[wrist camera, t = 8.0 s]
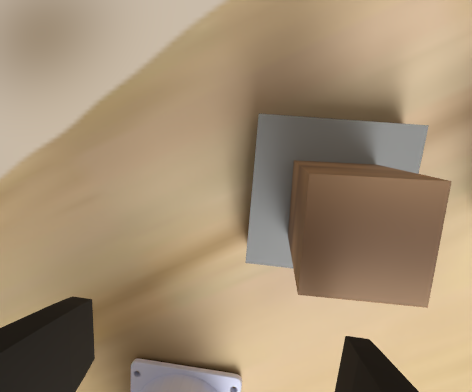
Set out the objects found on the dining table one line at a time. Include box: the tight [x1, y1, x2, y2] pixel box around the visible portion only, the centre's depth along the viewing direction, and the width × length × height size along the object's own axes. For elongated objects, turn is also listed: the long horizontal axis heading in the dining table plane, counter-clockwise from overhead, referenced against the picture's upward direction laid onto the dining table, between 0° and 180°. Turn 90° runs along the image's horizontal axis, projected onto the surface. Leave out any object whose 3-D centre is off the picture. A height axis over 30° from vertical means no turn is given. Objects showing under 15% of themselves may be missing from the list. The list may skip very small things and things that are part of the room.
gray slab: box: [246, 114, 428, 268], centre depth 16 cm, size 8×8×3 cm
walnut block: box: [288, 160, 451, 308], centre depth 12 cm, size 4×4×6 cm
